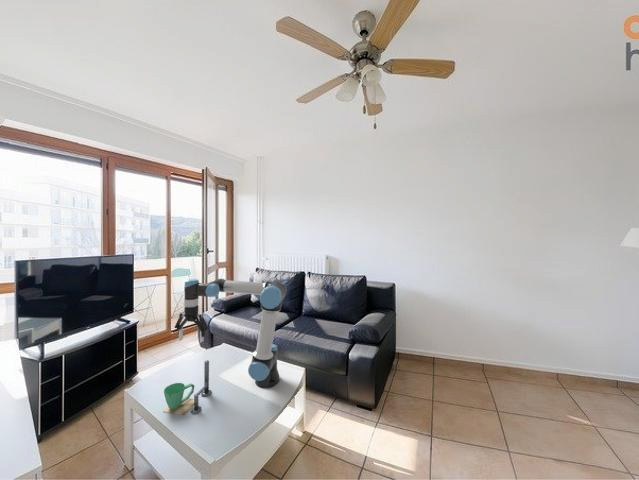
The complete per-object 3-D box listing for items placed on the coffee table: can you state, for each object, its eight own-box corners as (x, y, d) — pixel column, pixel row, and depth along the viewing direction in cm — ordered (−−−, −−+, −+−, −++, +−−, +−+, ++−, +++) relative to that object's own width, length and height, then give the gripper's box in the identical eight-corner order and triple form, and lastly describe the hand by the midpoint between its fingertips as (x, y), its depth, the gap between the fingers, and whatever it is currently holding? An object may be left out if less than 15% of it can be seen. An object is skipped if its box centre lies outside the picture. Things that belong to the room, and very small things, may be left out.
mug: (165, 415, 132) (165, 396, 132) (162, 405, 140) (162, 387, 139) (196, 404, 141) (196, 386, 141) (192, 394, 149) (192, 377, 148)
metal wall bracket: (217, 391, 153) (218, 360, 152) (197, 414, 134) (197, 378, 133) (204, 390, 154) (205, 358, 153) (183, 412, 135) (183, 376, 134)
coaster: (198, 400, 145) (198, 399, 145) (184, 415, 133) (184, 414, 133) (179, 397, 147) (179, 396, 147) (163, 412, 135) (163, 411, 135)
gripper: (214, 305, 156) (214, 340, 156) (176, 302, 159) (176, 336, 160) (207, 308, 148) (206, 345, 149) (167, 305, 152) (167, 341, 153)
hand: (191, 341), depth 155 cm, fingers open, 13 cm apart
